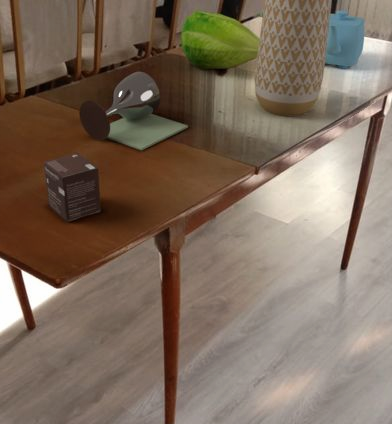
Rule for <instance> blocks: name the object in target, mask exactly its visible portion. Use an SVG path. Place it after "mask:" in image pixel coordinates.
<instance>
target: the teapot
mask: <svg viewBox="0 0 392 424" xmlns="http://www.w3.org/2000/svg"><path fill="white" fill-rule="evenodd" d="M364 44H365V20H364V18H363V17H359V16H353V15H349V11H346V10H342V9H341V10H337V11H336V13H330V21H329V30H328V39H327V48H326V57H325V65H326V64H329V65H334V66H337V67H338V68H339V69H347V68H348V67H353V66H355V65H356V64H357V62H358V61H359V60H360V57H361V56H362V53H363V50H364Z"/></svg>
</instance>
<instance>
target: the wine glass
mask: <svg viewBox="0 0 392 424" xmlns="http://www.w3.org/2000/svg"><path fill="white" fill-rule="evenodd" d="M111 99H112V104H111V106H110V107H109V108H108V109H107V110H105V109H104V108H103V107H102V106H101V105H100V104H98V103H97V102H95V101H93V100H85V101H84V102H82V104H80V107H79V113H78V114H79V120H80V123H81V126H82V127H83V129H84V131H85V132H86V133H87V134H88V135H89V136H90V137H91V138H93V139H95V140H98V141H104V140H105V139H108V138H107V137H108V135H109V133H110V123H111V122H110V119H109V116H112V115H114V114H115V115H119V116H120V117H122V118H126V119H129V120H134V119H140V118H143V117H145V116H147V115H149V114H153V112H155V111H156V110H157V109H158V108H159V105H160V102H161V95H160V90H159V87H158V85H157V83H156V81H155V80H154V79H153V78H152V77H151V76H150V75H149V74H148V73H146V72H143V71H135V72H133V73H131V74H128V75H127V76H126V77H124V78H123V79H122V80H120V82H118V84H117V85H116V86H115V88H114V90H113V92H112V98H111Z"/></svg>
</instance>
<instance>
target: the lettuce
mask: <svg viewBox="0 0 392 424" xmlns="http://www.w3.org/2000/svg"><path fill="white" fill-rule="evenodd" d="M259 40H260V37H258V35H256V34H255V32H253V30H251V29H250V28H249V27H247V26H245V25H244V24H243V23H241V22H240V21H238V20H237V19H235V18H232V17H230V16H227V15H224V14H221V13H218V12H209V11H206V10H205V11H204V10H200V9H196V10H194V12H192V13H191V14H189V15H188V16H187V17H186V19H185V20H184V22H183V24H182V29H181V35H180V41H181V42H180V45H181V50H182V53H183V54H184V56H185V57H186V59H187V61H188V62H189V63H190V64H191V65H193V66H194V67H195V68H197V69H199V70H208V69H209V70H213V69H214V70H224V69H225V70H226V69H230V68H235V67H238V66H241V65H243V64H244V65H245V64H246V63H249V62H250V61H253V60H257V54H258V47H259Z"/></svg>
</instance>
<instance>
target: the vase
mask: <svg viewBox="0 0 392 424" xmlns="http://www.w3.org/2000/svg"><path fill="white" fill-rule="evenodd" d="M332 2H333V0H264V5H263V12H262V20H261V27H260V33H259V38H260V40H259V47H258V54H257V58H256V62H255V71H254V92H255V98H256V100H257V102H258V104H259V105H260V107H261V108H262V109H263V110H264V111H265V112H268V113H270V114H273V115H277V116H284V117H294V116H295V117H296V116H301V115H303V114H305V113H307V112H309V111H310V110H311V108H313V106H314V105H315V104H316V102H317V101H318V98H319V96H320V92H321V89H322V86H323V85H322V84H323V79H324V73H325V65H326V64H325V57H326V48H327V39H328V30H329V21H330V14H331V11H332Z"/></svg>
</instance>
